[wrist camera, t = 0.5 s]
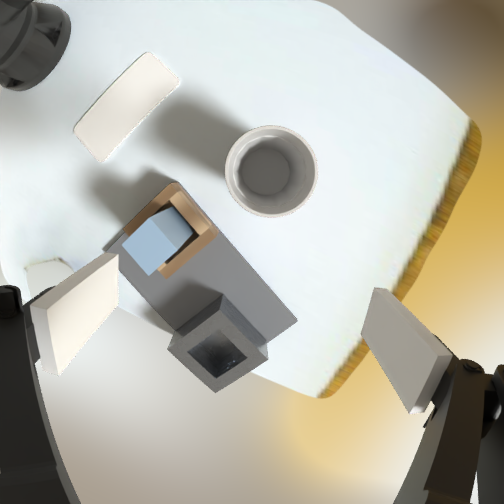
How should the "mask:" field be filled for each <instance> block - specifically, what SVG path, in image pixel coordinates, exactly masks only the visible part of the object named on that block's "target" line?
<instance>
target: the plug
mask: <svg viewBox="0 0 504 504" xmlns="http://www.w3.org/2000/svg"><path fill="white" fill-rule="evenodd" d="M194 232H195V229H194V228H193V227H192V226H191V225H190V224H189V222H188V221H187V220H186V219H185V218H184V217H183V215H182V214H181V213H180V212H179V211H178V210H177V208H176V207H175V206H172V207H170V208H168V209H166V210H164V211H162V212H160V213H158V214H156V215H153V216H151V217H149V218H148V219H147V220H146V221H145V222H144V223H143V224H142V225H141V226H140V227H139V228H138V229H137V230H136V231H135V232H134V233H133V234H132V235H131V236H130V237H129V238H128V239H127V240H126V241H125V242H124V243H123V244H122V246H123V247H124V248H125V250H126V251H127V252H128V253H129V254H130V255H131V257H132V258H133V259H134V260H135V261H136V262H137V263H138V265H139V266H140V267H141V268H142V269H143V270H144V271H145V273H146V274H147V275H148V276H149V275H150V274H152V273H153V272H154V271H155V270H156V269H157V268H158V267H159V266H160V265H162V264H163V263H164V262H165V261H166V260H167V259H168V258H169V257H171V256H172V255H173V254H174V253H175V252H176V251H177V250H178V249H179V248H180V247H181V246H182V245H183V244H184V243H185V241H186V240H187V239H188V238H189V237H190V236H191V235H192V234H193V233H194Z"/></svg>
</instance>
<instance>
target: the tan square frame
mask: <svg viewBox="0 0 504 504" xmlns="http://www.w3.org/2000/svg"><path fill="white" fill-rule="evenodd" d="M172 206H175V207H176V208H177V210H178V211H179V212H180V213H181V214H182V215H183V217H184V218H185V219H186V220H187V221H188V222H189V224H190V225H191V226H192V227H193V228H194V229H195V232H194V233H193V234H192V235H191V236H190V237H189V238H188V239H187V240H186V241H185V243H184V244H183V245H182V246H181V247H180V248H179V249H178V250H177V251H176V252H175V253H174V254H173V255H172V256H171V257H169V258H168V259H167V260H166V261H165V262H164V263H163V264H162V265H160V266H159V267H158V268H157V270H158V271H159V272H160V273H161V274H162V275H163V276H164V278H165V279H168V278H169V277H170V276H171V275H172V274H173V273H175V272H176V271H177V270H178V269H179V268H180V267H182V266H183V265H184V264H185V263H186V262H187V261H189V260H190V259H191V258H192V257H193V256H194V255H196V254H197V253H198V252H199V251H200V250H201V249H203V248H204V247H205V246H206V245H207V244H209V243H210V242H211V241H212V240H213V239H214V238H216V236H217V234H218V233H219V231H218V229H217V228H216V227H215V226H214V225H213V224H212V222H211V221H210V220H209V219H208V218H207V217H206V215H205V214H204V213H203V212H202V211H201V210H200V208H199V207H198V206H197V205H196V204H195V203H194V201H193V200H192V199H191V198H190V197H189V196H188V194H187V193H186V192H185V191H184V190H183V189H182V187H181V186H180V185H179V184H178V183H177V182H175V183H170V184H169V185H168V186H167V187H166V188H164V189H163V190H162V191H161V192H160V193H159V194H158V195H157V196H156V197H155V198H154V199H153V200H152V201H151V202H150V203H149V204H148V205H146V206H145V207H144V208H143V209H142V210H141V211H140V212H139V213H138V214H137V215H136V216H135V217H134V218H133V219H132V220H131V221H130V222H129V223H128V224H127V225H126V226H125V227H124V228H123V230H124V232H125V233H126V234H127V235H128V236H129V237H130V236H131V235H132V234H133V233H134V232H135V231H136V230H137V229H138V228H139V227H140V226H141V225H142V224H143V223H144V222H145V221H146V220H147V219H148V218H149V217H151V216H153V215H156V214H158V213H160V212H162V211H164V210H166V209H168V208H170V207H172Z"/></svg>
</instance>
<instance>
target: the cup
mask: <svg viewBox="0 0 504 504" xmlns="http://www.w3.org/2000/svg"><path fill="white" fill-rule="evenodd" d="M317 179H318V165H317V160H316V157H315V154H314V152H313V150H312V148H311V147H310V145H309V144H308V143H307V141H306V140H305V139H304V138H303V137H301V136H300V135H299V134H297V133H296V132H294V131H292V130H290V129H288V128H285V127H281V126H272V125H270V126H261V127H257V128H254V129H252V130H250V131H248V132H246V133H245V134H243V135H242V136H241V137H240V138H239V139H238V140H237V141H236V142H235V143H234V144H233V146H232V147H231V149H230V151H229V153H228V155H227V158H226V163H225V180H226V184H227V187H228V189H229V192H230V194H231V195H232V197H233V198H234V200H235V201H236V202H237V203H238V204H239V205H240V206H241V207H242V208H244V209H245V210H247V211H248V212H250V213H252V214H255V215H258V216H261V217H268V218H275V217H282V216H286V215H289V214H291V213H293V212H295V211H297V210H298V209H300V208H301V207H302V206H303V205H304V204H305V203H306V202H307V201H308V200H309V198H310V197H311V195H312V194H313V192H314V190H315V187H316V184H317Z"/></svg>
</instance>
